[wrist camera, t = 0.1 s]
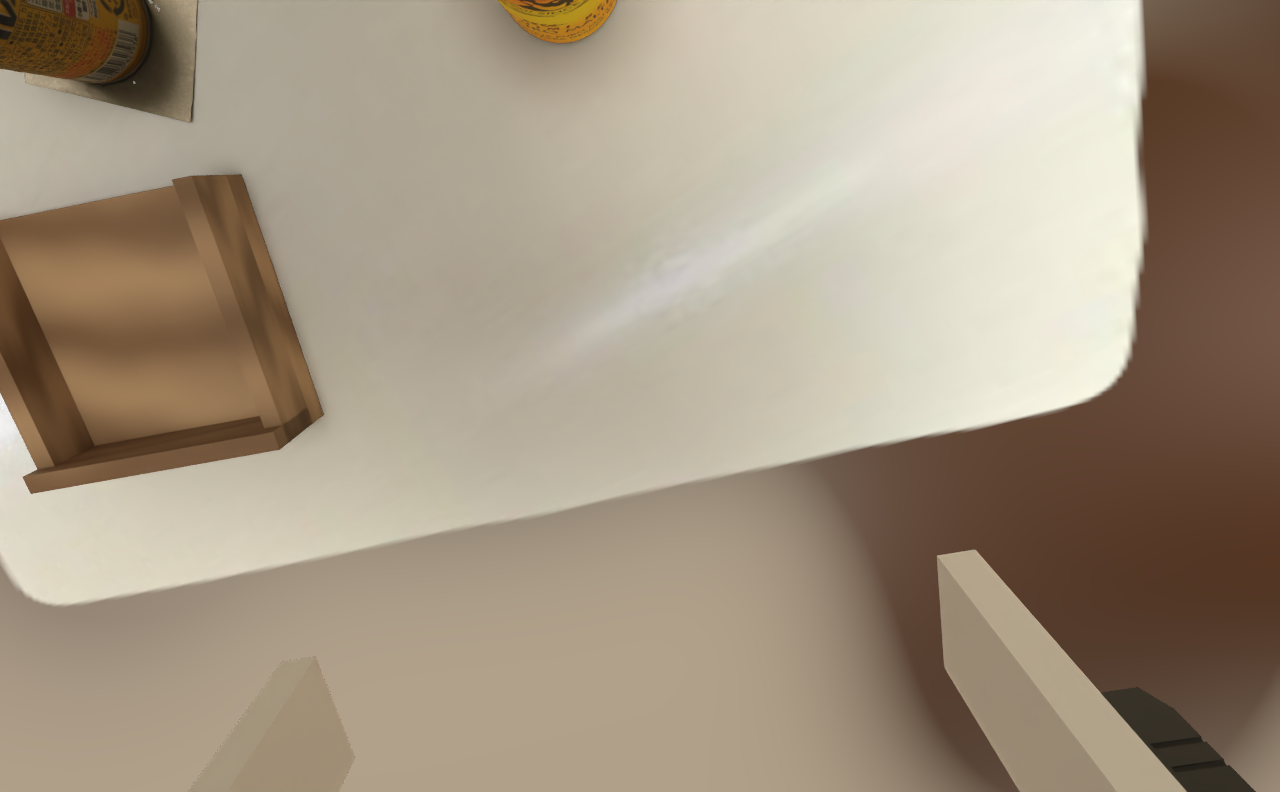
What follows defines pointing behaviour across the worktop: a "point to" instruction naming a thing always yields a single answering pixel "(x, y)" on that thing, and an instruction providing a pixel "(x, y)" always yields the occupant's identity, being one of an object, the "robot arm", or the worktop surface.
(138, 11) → the condiment
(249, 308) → the wooden serving tray
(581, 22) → the beer can
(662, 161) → the worktop surface
